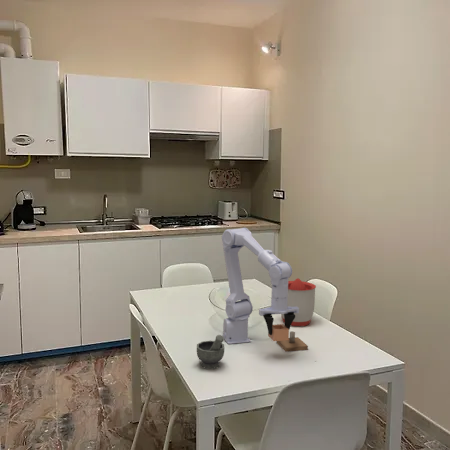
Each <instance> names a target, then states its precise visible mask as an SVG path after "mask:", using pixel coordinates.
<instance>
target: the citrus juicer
mask: <svg viewBox="0 0 450 450" xmlns="http://www.w3.org/2000/svg"><path fill="white" fill-rule="evenodd" d="M316 288H317V286H316V285H315V284H314V283H312V282H308V281H303V280H301V279H300V278H298V277H297V278H295V280H288V302H287V306H290V307H298V308H299V313H294V314H295V319H294V320H293V322H292V324H291V326H293V327H307V326H308V325H310V324H311V321H312V318H313V315H314V312H315V305H316V304H315V303H316V302H315V300H316V298H315V297H316ZM280 316H281V319H282V321H283V324H285V320H284V314H280Z"/></svg>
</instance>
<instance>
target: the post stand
mask: <svg viewBox="0 0 450 450" xmlns="http://www.w3.org/2000/svg"><path fill="white" fill-rule="evenodd" d="M276 344H277V345H278V346H279V347H280V348H281V349H282V351H284V352H285V353H287V352H299V351H308V350H309V345H308V344H307V343H305V342H304V341H303V340H302V339H301V338H300V337H298V336H297V337H296V331H289V340H285V341H276Z"/></svg>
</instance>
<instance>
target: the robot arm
mask: <svg viewBox="0 0 450 450" xmlns="http://www.w3.org/2000/svg"><path fill="white" fill-rule="evenodd" d="M221 242H222V247H223V256H224V261H225V267H226V275H227V280H228V286H229V287H228V289H229V295H228V297H227V298H226V299H225V315H226V316H227V318H224V319H223V332H222V334H223V335H222V336H223V338H224V341H225V342H226V344H227V345H230V344H231V345H232V344H244V343H251V342H252V340H251V339H250V337H249V334H248V333H249V318H250V315H251V314H252V313H253V312H254V311H253V308H254V306H253V303H252V302H251V299H250V296H249V295H248V294H247V293H246V292H245V290H244V284H243V276H242V272H241V271H242V269H241V266H240V259H239V252H240V250H241V249H242V248H243V247H245V248H247V249H248V250H250V251H251V252H252V254H254V255H256V256H257V261H258V263H260V265H261V266H263V267H264V269H265V270H267V271H268V276H269V278H270V283H271V301H270V302H271V303H270V306H269V307H264V308H258V315H259V316H260V317H263V318H264V321H265V324H266V327H267V333H269V334H270V335H272V326H273V325H274V317H273V315H281V314H284V320H285V323H283V324H284V325H285V326H286V327H287V328H288V329H289V330H290V329H291V326H292V325H291V324H292V322H293V320H294V319H295V314H294V313H299V308H298V307H290V306H287V302H288V281H289V278H291V277H292V274H293V267H292V266H291V264H290V263H289V262H287V261H283V260H281V259H280V258H278V257H277V256H276V255H275V254H274V252H273V250H272V249H264V248H263V247H262V246H261V244H260V243H259V242H258V241H257V240H256V238H254V237H253V233H252V232H251V230H249V228H247V227H241V228H240V227H239V228H231V229H230V228H228V229H225V230H224V231H223V233H222V235H221Z"/></svg>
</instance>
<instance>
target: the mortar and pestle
mask: <svg viewBox="0 0 450 450" xmlns="http://www.w3.org/2000/svg"><path fill="white" fill-rule="evenodd" d="M224 341H225V339H224V338H223V335H221V334H218V335H216V336H215V340H205V341H201V342H198V343H196V354H197V355H196V356H197V358H198V359H199V361H201V367H202V368H203V369H206V370H207V369H208V370H212V369H213V370H214V369H217V368H218V367H220V361H221V360H222V359H223V358H224V355H225V344H224V343H223V342H224Z"/></svg>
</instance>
